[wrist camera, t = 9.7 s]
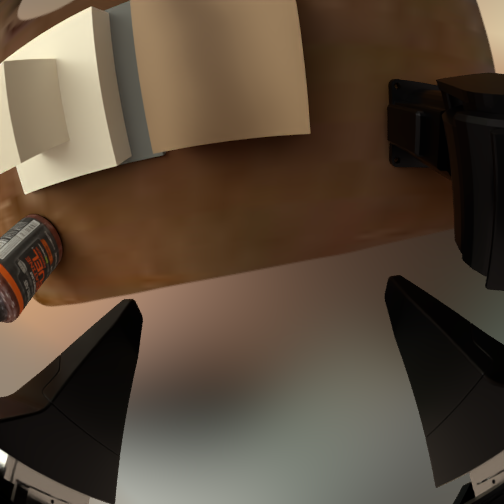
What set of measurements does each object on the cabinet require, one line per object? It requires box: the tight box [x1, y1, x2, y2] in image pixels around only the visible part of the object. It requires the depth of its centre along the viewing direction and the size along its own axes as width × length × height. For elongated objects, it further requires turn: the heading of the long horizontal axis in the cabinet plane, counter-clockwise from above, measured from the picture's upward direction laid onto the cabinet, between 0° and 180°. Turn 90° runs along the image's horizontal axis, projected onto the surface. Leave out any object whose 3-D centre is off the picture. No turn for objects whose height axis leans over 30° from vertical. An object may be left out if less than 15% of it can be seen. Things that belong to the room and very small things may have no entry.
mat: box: [105, 1, 166, 165], centre depth 15 cm, size 14×12×1 cm
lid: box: [0, 7, 132, 194], centre depth 12 cm, size 9×11×8 cm
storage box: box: [130, 0, 310, 154], centre depth 13 cm, size 8×10×5 cm
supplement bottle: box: [0, 214, 62, 323], centre depth 17 cm, size 6×6×11 cm
